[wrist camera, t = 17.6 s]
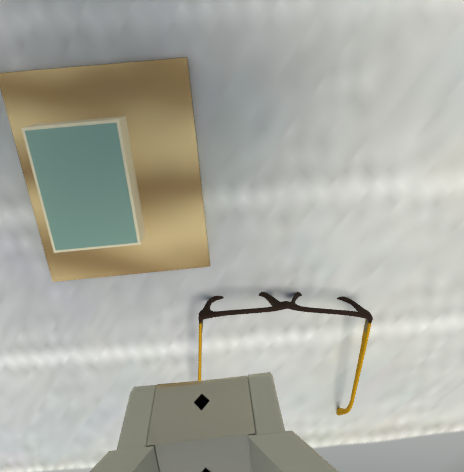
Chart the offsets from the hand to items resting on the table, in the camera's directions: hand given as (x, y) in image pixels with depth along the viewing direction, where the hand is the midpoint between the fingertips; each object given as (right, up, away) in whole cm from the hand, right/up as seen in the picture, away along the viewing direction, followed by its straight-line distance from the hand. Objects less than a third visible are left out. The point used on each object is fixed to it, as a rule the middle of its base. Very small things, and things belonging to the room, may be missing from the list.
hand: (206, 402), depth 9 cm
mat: (-8, +8, +22) cm, 25 cm away
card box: (-7, +8, +21) cm, 23 cm away
